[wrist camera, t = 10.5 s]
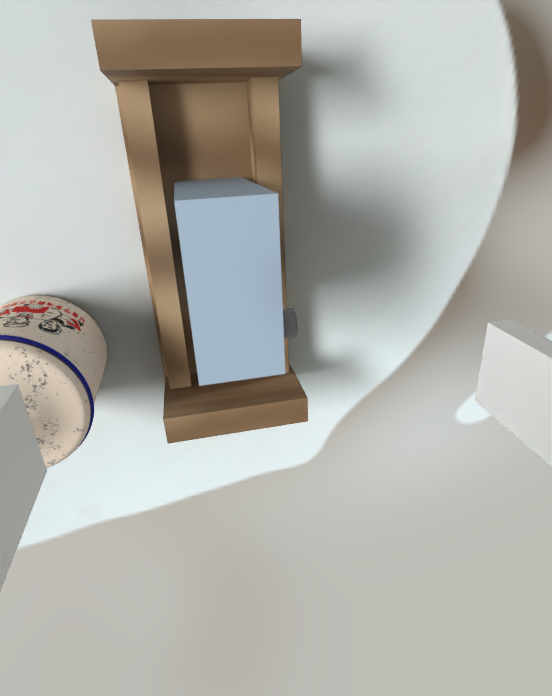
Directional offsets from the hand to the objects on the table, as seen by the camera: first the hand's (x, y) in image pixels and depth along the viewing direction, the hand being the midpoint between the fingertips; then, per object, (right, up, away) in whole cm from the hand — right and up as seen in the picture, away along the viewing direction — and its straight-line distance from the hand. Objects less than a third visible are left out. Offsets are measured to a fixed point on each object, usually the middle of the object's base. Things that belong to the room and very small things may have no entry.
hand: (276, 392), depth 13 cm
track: (-5, +9, +20) cm, 22 cm away
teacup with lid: (-19, +1, +21) cm, 28 cm away
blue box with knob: (-4, +9, +19) cm, 21 cm away
